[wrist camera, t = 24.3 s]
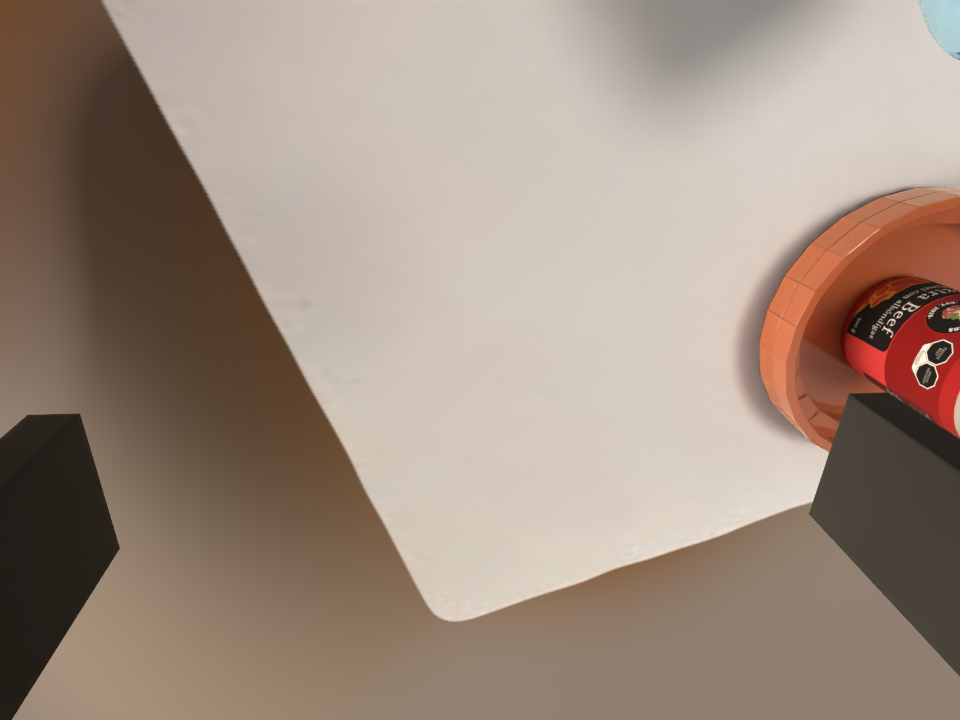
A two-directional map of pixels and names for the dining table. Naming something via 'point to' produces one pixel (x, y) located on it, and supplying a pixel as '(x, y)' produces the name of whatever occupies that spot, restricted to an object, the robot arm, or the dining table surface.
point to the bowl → (849, 299)
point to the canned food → (909, 345)
